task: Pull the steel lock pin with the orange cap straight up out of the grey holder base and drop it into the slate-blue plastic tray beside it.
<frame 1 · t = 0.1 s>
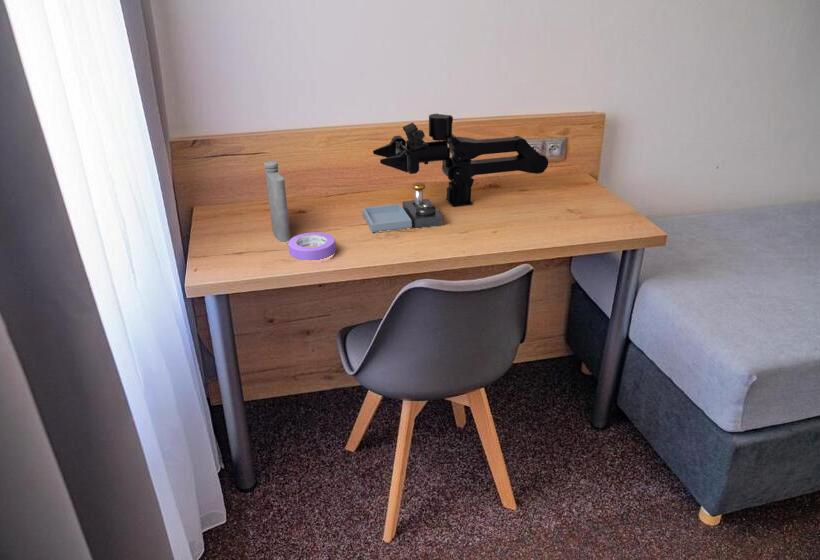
hand: (376, 156, 179), 17 cm above the table, tool horizontal, fingers open, 9 cm apart
hip flask: (280, 233, 173), on the table
tray: (386, 222, 179), on the table
grey holder base: (422, 218, 181), on the table
lock pin: (418, 213, 184), resting in grey holder base
masking tape: (312, 255, 161), on the table
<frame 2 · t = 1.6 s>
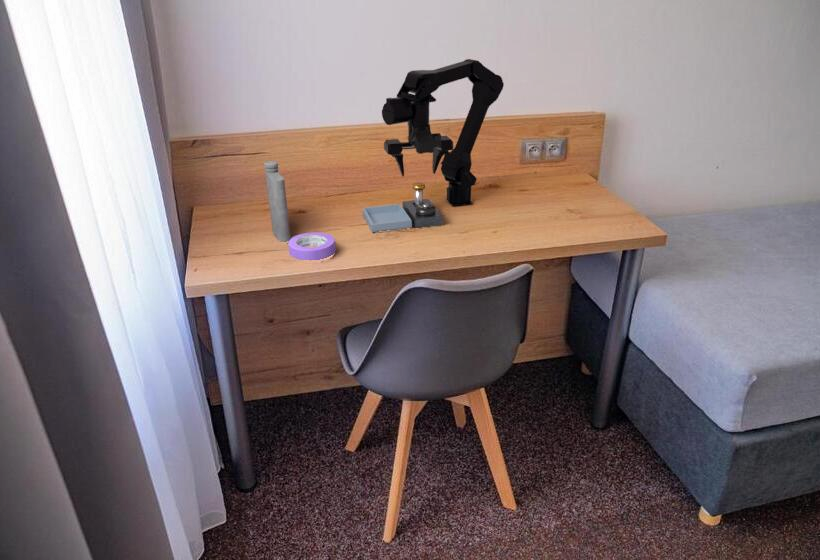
hand: (418, 174, 179), 12 cm above the table, tool pointing down, fingers open, 9 cm apart
nothing on the table moved.
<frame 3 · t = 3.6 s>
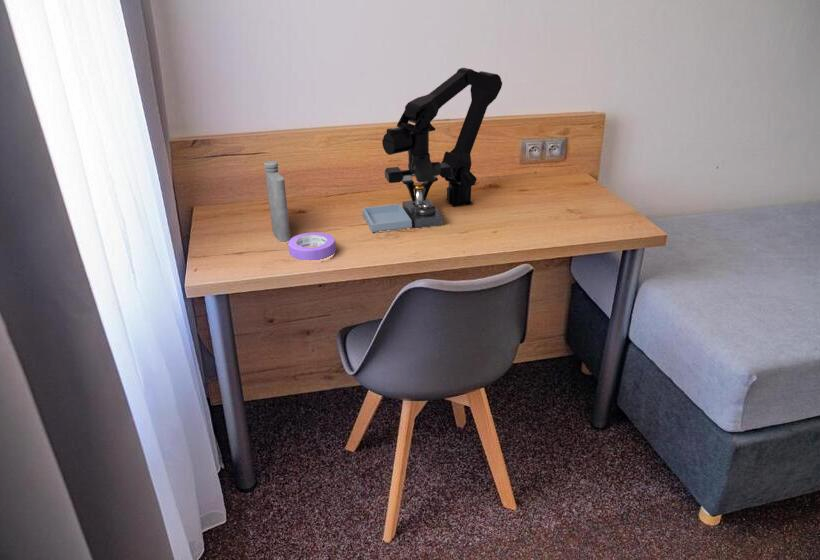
hand: (418, 200, 182), 4 cm above the table, tool pointing down, fingers closed on lock pin, 3 cm apart
lock pin: (418, 213, 184), resting in grey holder base, touching gripper
everything else where it was.
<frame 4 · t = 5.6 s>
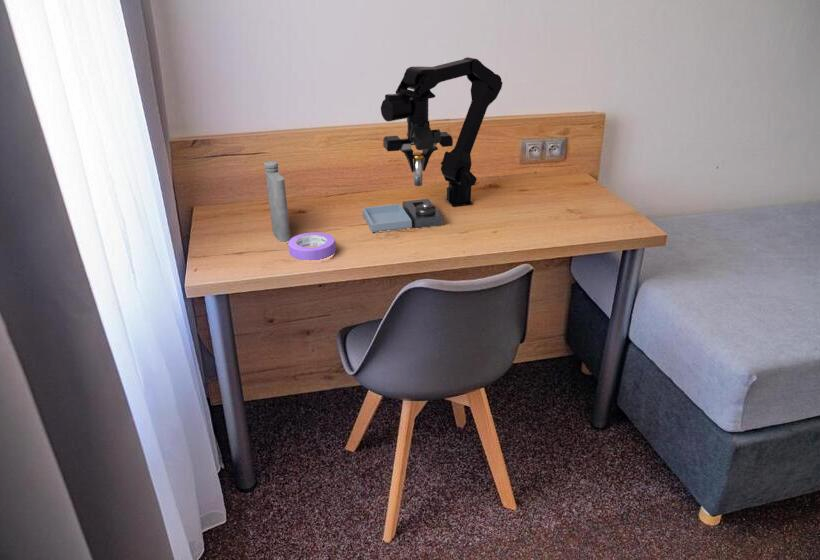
hand: (418, 171, 178), 13 cm above the table, tool pointing down, fingers closed on lock pin, 3 cm apart
lock pin: (418, 184, 180), point 9 cm above the table, touching gripper
everything else where it was.
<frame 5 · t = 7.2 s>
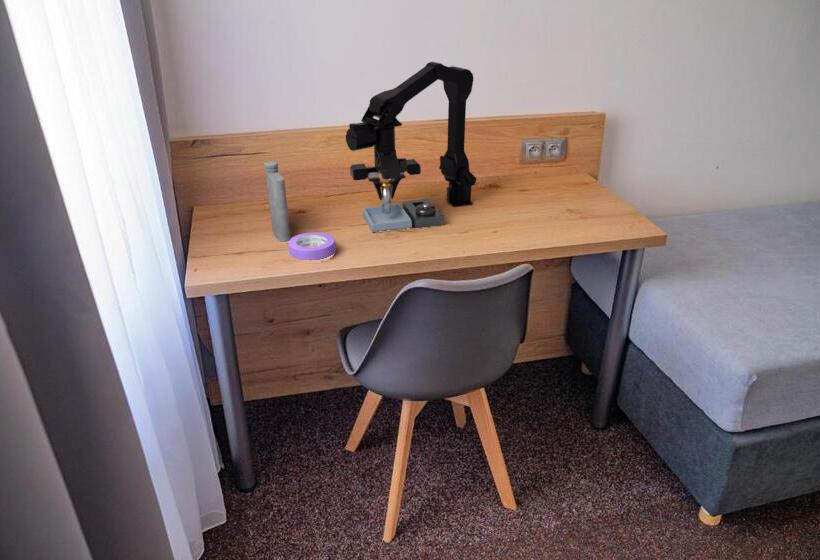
hand: (386, 199, 176), 7 cm above the table, tool pointing down, fingers closed on lock pin, 3 cm apart
lock pin: (386, 212, 178), point 3 cm above the table, touching gripper
everything else where it was.
when the fingers open (6 cm above the table, at t = 8.0 s): lock pin drops 1 cm, resting on tray.
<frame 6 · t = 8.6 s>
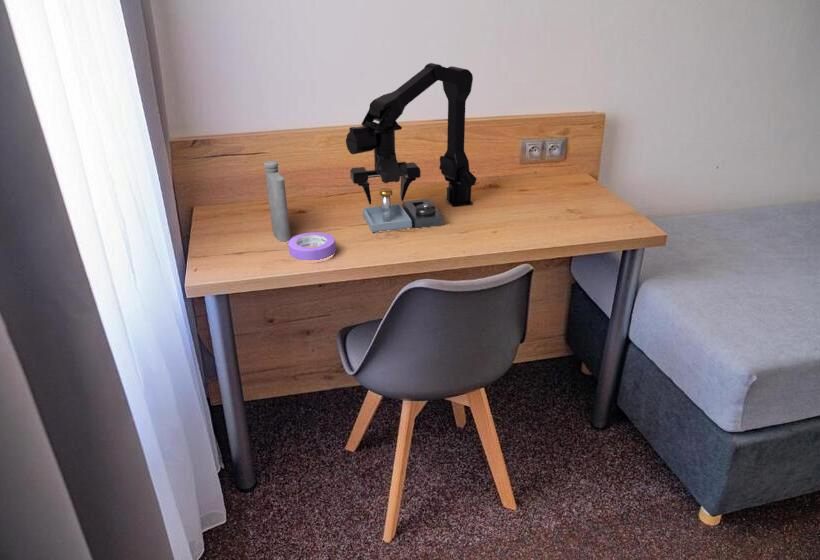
hand: (386, 202, 176), 6 cm above the table, tool pointing down, fingers open, 9 cm apart
lock pin: (386, 220, 179), point 1 cm above the table, touching tray
everything else where it was.
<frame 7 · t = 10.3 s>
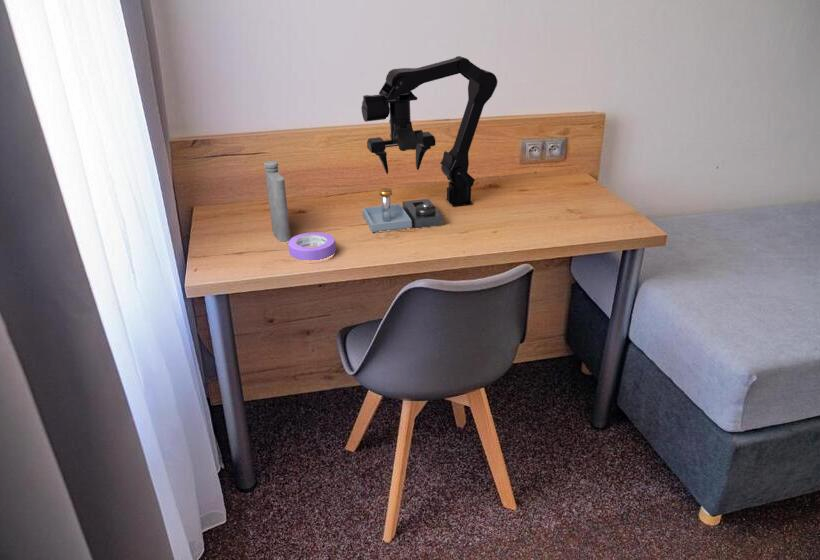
hand: (402, 171, 181), 12 cm above the table, tool pointing down, fingers open, 9 cm apart
nothing on the table moved.
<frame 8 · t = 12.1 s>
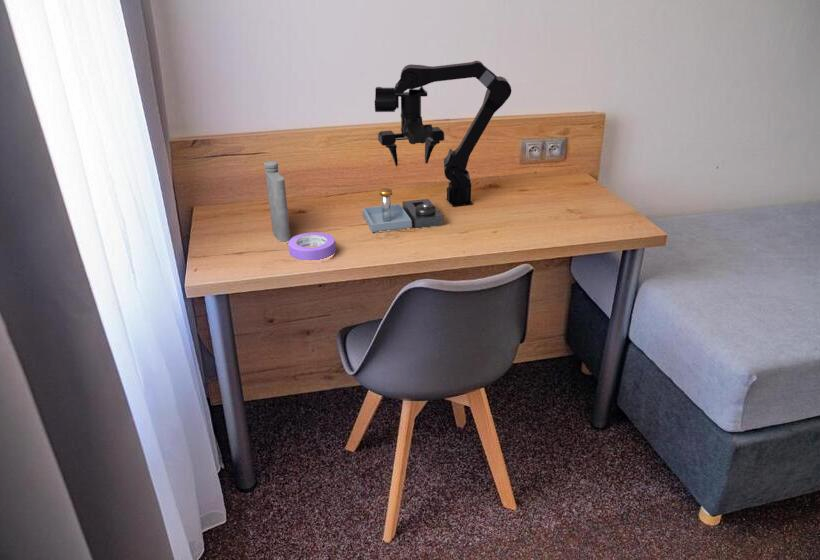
hand: (411, 164, 187), 12 cm above the table, tool pointing down, fingers open, 9 cm apart
nothing on the table moved.
at the end: lock pin inside the target area on the tray (0.0 cm from its centre), point 0.5 cm above the tray's base; the gripper is holding nothing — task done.
